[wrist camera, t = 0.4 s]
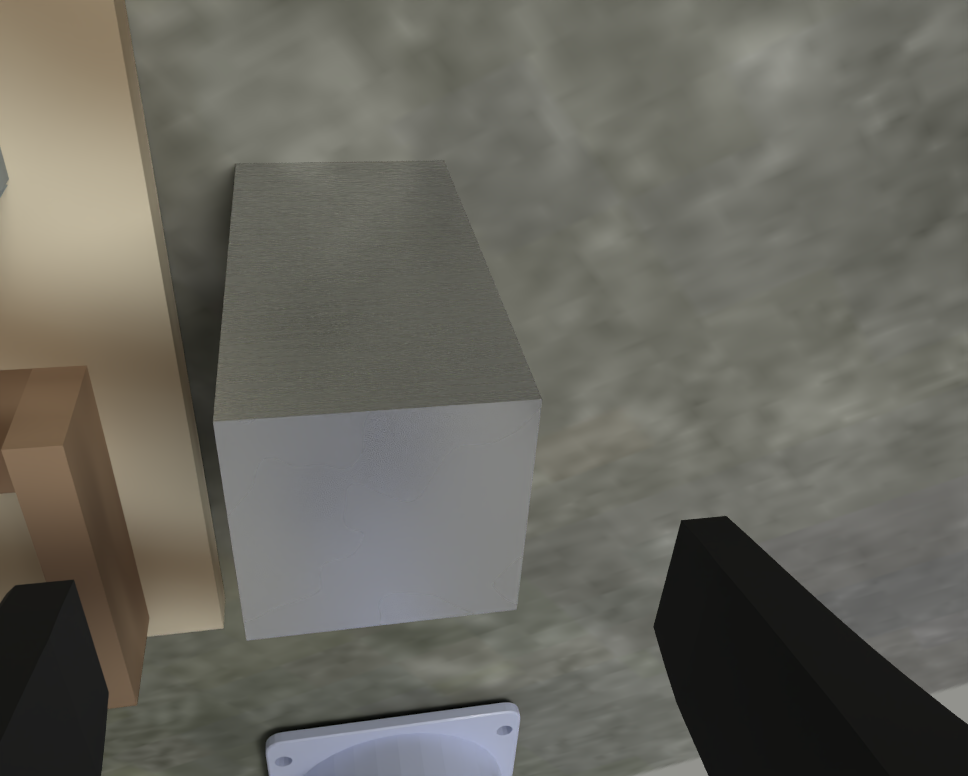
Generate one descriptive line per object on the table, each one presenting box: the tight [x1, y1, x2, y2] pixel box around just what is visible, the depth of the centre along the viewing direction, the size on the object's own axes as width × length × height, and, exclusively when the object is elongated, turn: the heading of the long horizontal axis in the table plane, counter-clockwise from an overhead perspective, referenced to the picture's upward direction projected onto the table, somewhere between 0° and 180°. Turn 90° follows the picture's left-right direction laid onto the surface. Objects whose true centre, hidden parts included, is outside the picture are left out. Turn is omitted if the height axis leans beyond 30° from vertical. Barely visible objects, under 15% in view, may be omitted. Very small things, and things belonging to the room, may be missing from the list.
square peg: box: [213, 160, 542, 641], centre depth 15 cm, size 4×4×8 cm
